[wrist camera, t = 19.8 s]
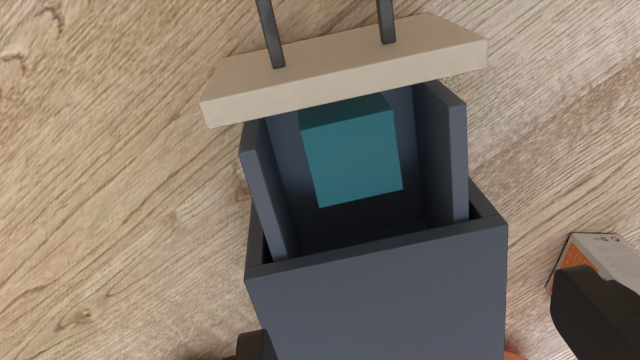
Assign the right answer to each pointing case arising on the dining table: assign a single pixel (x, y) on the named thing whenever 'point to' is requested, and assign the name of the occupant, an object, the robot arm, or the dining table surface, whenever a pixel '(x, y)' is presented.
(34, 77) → the dining table surface
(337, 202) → the teal block
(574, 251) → the cosmetic box
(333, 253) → the storage box
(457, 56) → the drawer
